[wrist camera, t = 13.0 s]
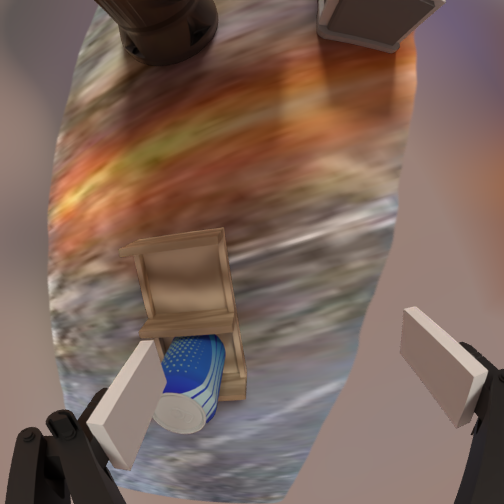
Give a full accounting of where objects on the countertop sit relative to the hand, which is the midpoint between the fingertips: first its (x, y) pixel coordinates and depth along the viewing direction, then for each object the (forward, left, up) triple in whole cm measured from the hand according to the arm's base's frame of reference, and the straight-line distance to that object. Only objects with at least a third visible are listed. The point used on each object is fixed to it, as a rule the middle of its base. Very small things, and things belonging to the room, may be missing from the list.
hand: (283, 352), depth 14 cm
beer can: (+15, -12, -28) cm, 34 cm away
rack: (+9, -12, -29) cm, 32 cm away
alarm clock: (-38, +20, -29) cm, 52 cm away
